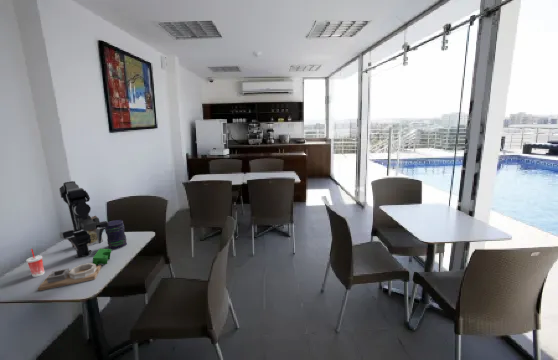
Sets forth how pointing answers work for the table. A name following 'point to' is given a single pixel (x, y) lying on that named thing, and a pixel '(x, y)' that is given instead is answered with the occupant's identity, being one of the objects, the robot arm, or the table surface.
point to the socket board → (68, 280)
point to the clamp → (102, 256)
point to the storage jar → (116, 234)
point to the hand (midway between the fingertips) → (89, 246)
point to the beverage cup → (36, 265)
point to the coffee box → (93, 235)
